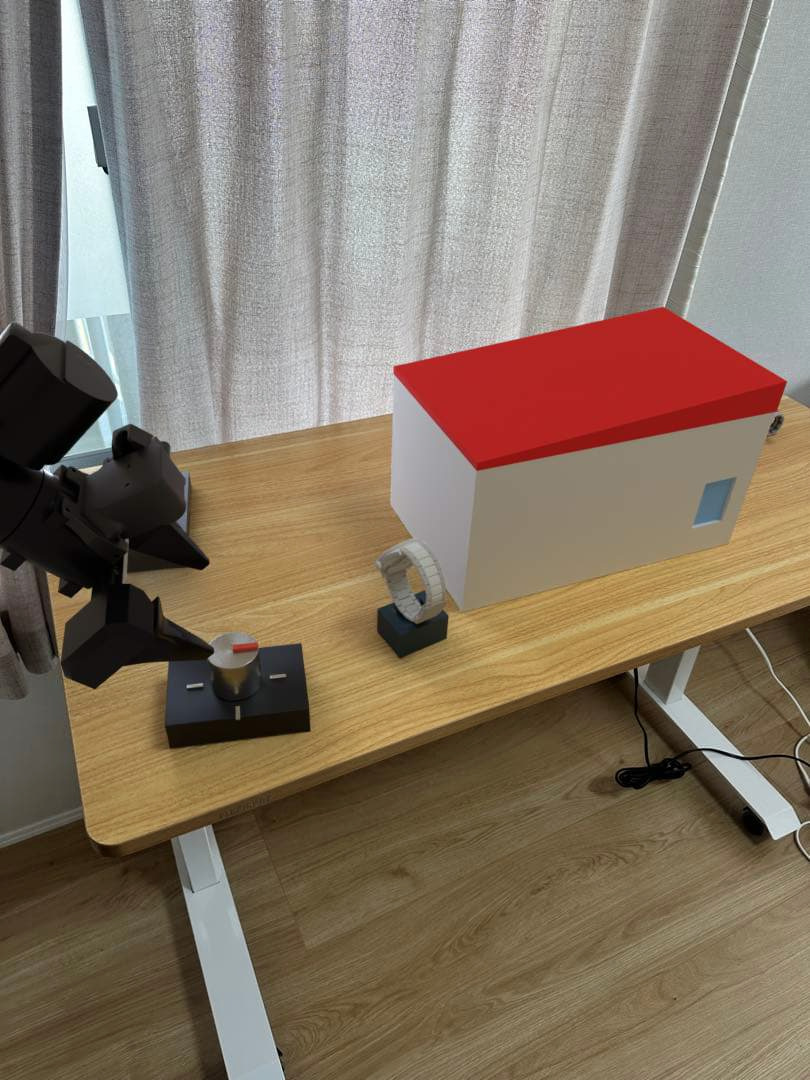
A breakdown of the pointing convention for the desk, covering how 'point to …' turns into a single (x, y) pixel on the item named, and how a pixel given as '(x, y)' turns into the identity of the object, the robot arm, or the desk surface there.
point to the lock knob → (235, 666)
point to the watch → (412, 599)
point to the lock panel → (237, 701)
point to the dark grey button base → (147, 562)
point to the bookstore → (576, 452)
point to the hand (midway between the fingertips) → (208, 607)
